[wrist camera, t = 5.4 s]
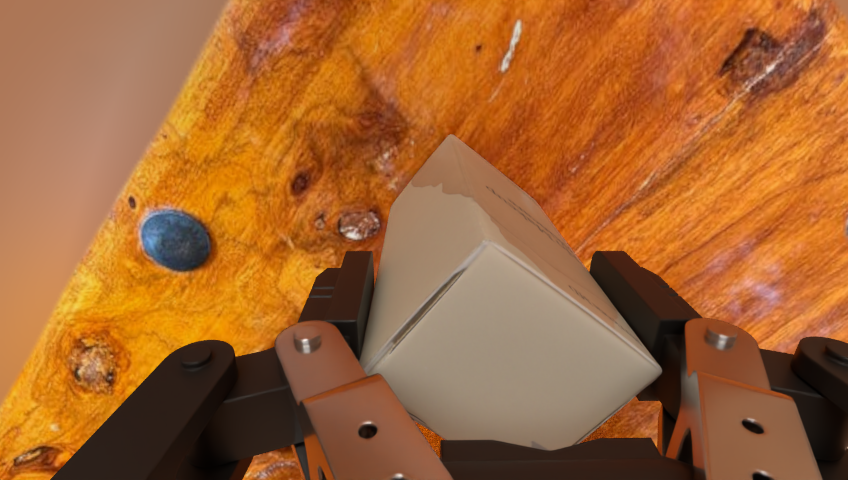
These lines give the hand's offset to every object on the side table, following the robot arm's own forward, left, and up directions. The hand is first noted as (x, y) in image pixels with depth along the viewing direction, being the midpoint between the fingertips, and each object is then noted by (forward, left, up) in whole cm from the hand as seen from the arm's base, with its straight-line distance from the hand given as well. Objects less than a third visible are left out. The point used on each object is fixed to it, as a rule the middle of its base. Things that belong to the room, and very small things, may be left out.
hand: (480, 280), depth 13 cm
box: (0, 0, -7) cm, 7 cm away
